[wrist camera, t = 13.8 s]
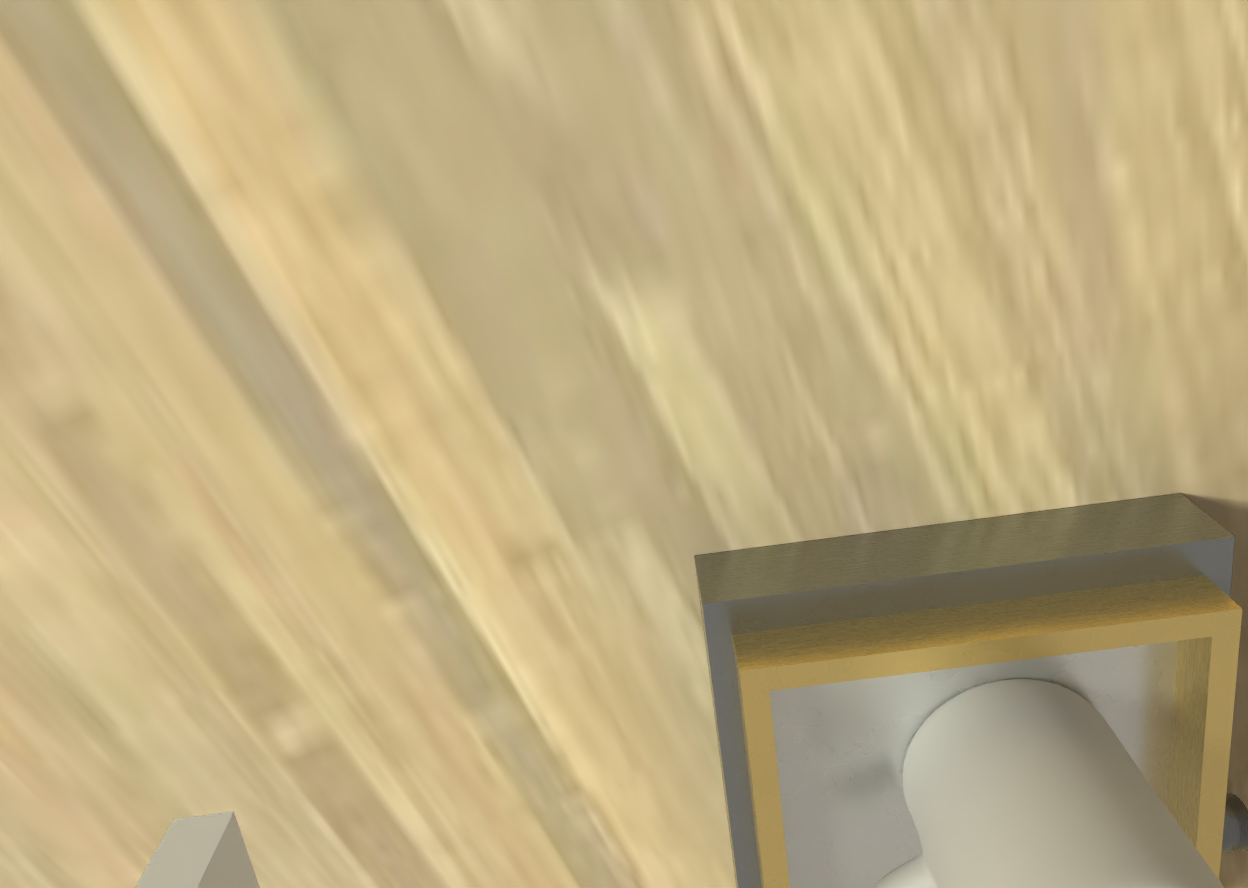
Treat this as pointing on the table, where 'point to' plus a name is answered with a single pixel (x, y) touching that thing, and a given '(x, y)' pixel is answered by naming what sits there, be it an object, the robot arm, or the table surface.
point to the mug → (1035, 799)
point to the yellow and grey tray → (962, 669)
